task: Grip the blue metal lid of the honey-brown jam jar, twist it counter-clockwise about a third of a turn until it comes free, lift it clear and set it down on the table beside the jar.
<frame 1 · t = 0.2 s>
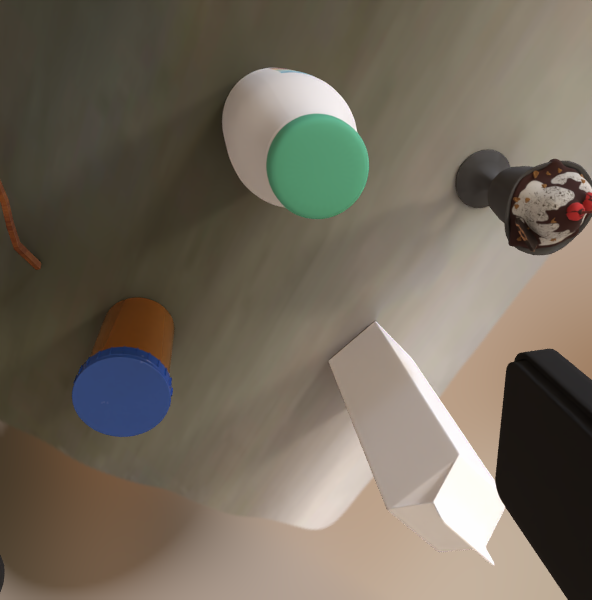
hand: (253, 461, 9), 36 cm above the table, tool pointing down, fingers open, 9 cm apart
jar: (139, 328, 47), on the table
milk bottle: (271, 121, 42), on the table
lid: (122, 395, 38), point 10 cm above the table, screwed on, not yet turned
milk: (369, 358, 52), on the table
sundae: (481, 178, 47), on the table
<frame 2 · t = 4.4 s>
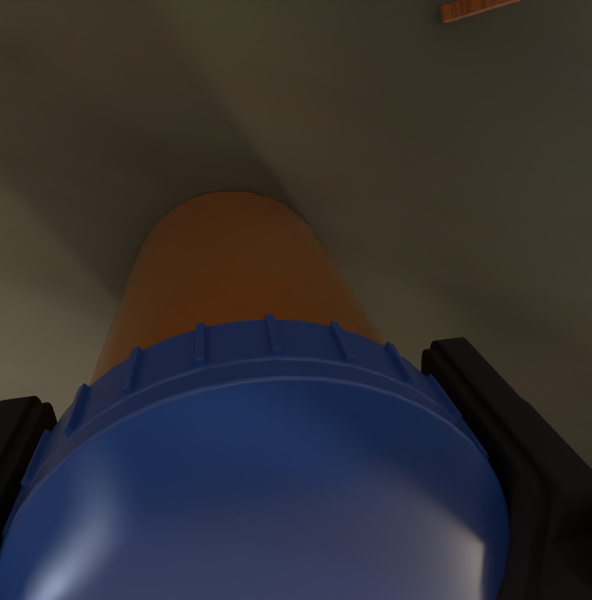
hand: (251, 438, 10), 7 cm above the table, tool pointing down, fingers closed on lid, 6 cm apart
jar: (233, 287, 17), on the table
lid: (266, 571, 7), point 10 cm above the table, screwed on, not yet turned, touching gripper
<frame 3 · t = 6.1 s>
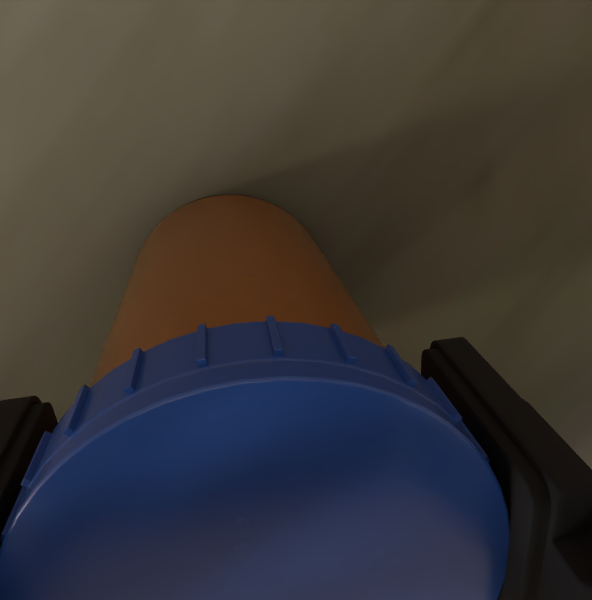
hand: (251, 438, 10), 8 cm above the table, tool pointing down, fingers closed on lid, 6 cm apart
jar: (231, 290, 17), on the table
lid: (266, 574, 7), point 11 cm above the table, turned 107° so far, risen 0.3 cm, still on its thread, touching gripper
when the fingers open (0 cm above the table, at t = 15.5 s): lid drops 2 cm, point 1 cm above the table.
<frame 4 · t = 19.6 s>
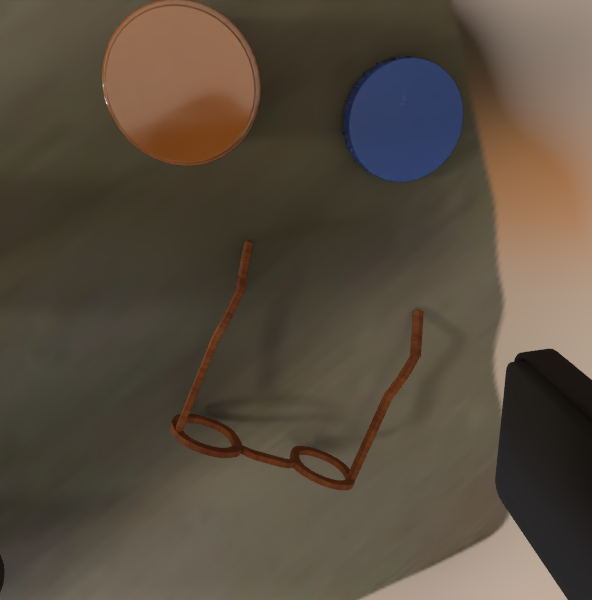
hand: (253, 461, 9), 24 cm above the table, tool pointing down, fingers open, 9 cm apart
jar: (189, 80, 29), on the table
glasses: (297, 357, 37), on the table
lid: (404, 121, 31), point 1 cm above the table, off its thread
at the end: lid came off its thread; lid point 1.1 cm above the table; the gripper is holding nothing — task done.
